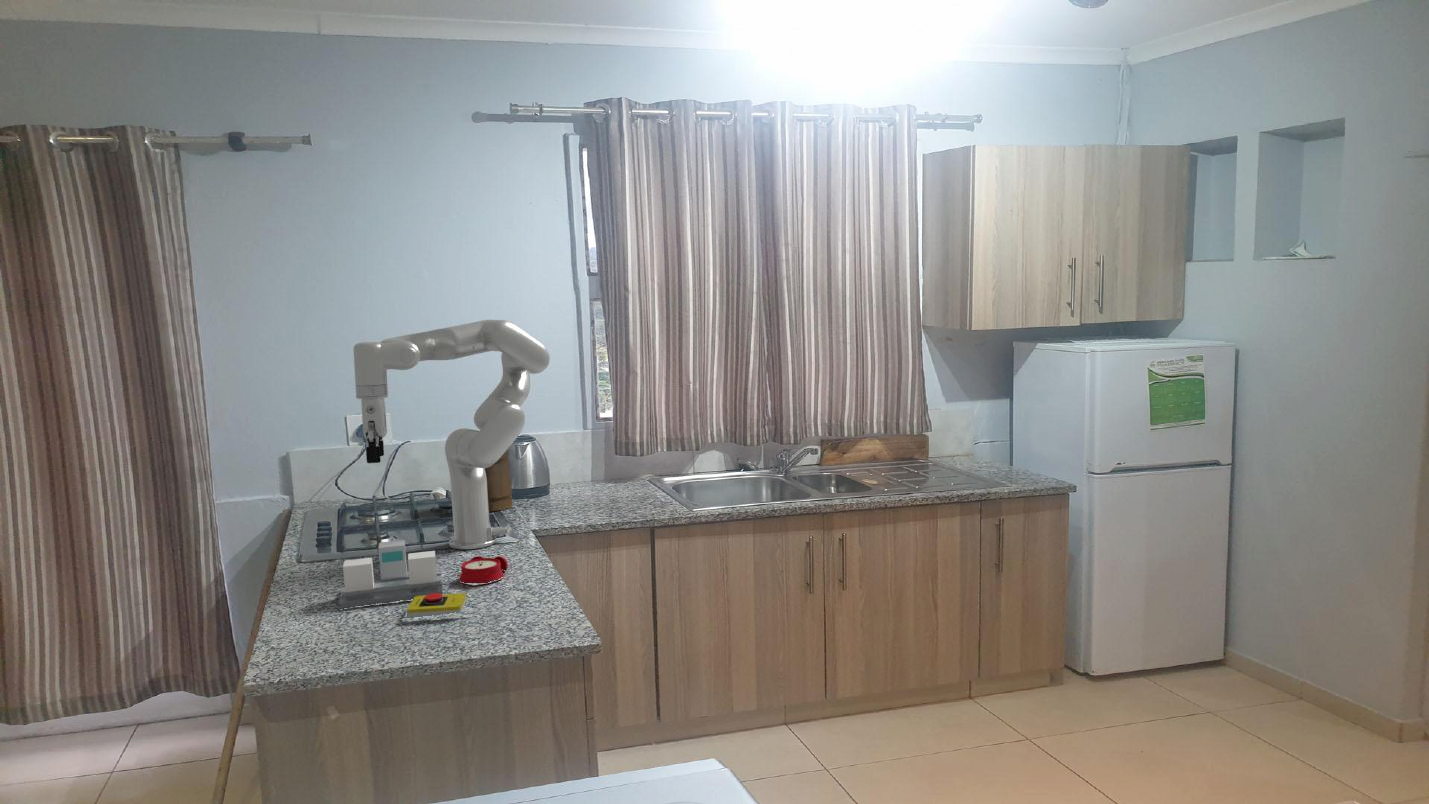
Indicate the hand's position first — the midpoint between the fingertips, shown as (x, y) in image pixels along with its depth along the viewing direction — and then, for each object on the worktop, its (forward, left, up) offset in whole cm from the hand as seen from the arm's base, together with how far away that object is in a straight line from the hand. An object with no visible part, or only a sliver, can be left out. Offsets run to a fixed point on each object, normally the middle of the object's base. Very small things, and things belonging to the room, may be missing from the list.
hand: (375, 459), depth 243 cm
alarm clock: (-24, +20, -28) cm, 42 cm away
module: (-3, +10, -28) cm, 29 cm away
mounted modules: (-3, +25, -25) cm, 35 cm away
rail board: (-3, +25, -27) cm, 37 cm away
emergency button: (-13, +42, -28) cm, 52 cm away
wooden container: (-30, -52, -28) cm, 66 cm away
